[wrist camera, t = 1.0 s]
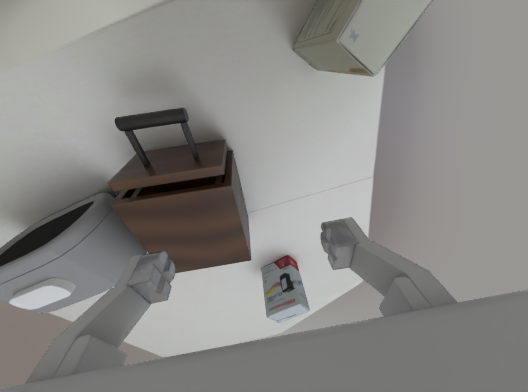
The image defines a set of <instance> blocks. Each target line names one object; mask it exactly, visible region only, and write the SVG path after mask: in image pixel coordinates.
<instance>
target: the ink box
mask: <svg viewBox="0 0 528 392" xmlns="http://www.w3.org/2000/svg"><path fill="white" fill-rule="evenodd" d="M261 270H262V279H263V288H264V297H265V306H266V315H267V317H268V318H270V319H272V320H274V321H276V322H278V323H280V322H283V321H286V320H288V319H291V318H294V317H296V316H299V315H302V314H304V313H307V312H308V311H309V310H310V309H309V305H308V302H307V298H306V294H305V291H304V287H303V284H302V280H301V276H300V273H299V269H298V266H297V263H296V262H295V261H294V260H293V259H292V258H291V257H289V256H286V257H283V258H281V259H279V260H277V261H275V262H273V263H271V264H269V265H267V266H265V267H263V268H261Z"/></svg>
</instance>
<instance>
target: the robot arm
mask: <svg viewBox="0 0 528 392" xmlns="http://www.w3.org/2000/svg"><path fill="white" fill-rule="evenodd" d="M321 229H322V231H323V232H322V233H321V244H322V247H323V249H324V251H325V252H326V253H328V260H329V262H330V264H331V267H332V269H333V270H336V269H343V268H349V267H350V269H351V270H353V271H354V272H355V273H356V274H358V275H359V276H360V277H361V278H362V279H364V280H365V281H366V282H367V283H369V284H370V285H371V286H372V287H374V288H375V289H376V290H377V291H379V292H380V293H381V294H382V295H383V296H385V297H384V299H383V301H382V302H381V304H380V307H379V309H380V311H381V312H382V314H383V316H384V317H379V318H373V319H368V320H363V321H357V322H352V323H347V324H341V325H336V326H330V327H325V328H320V329H315V330H309V331H304V332H298V333H293V334H288V335H283V336H278V337H272V338H266V339H261V340H256V341H250V342H245V343H240V344H234V345H229V346H224V347H218V348H213V349H208V350H202V351H197V352H192V353H186V354H181V355H176V356H170V357H165V358H160V359H154V360H149V361H144V362H138V363H133V364H128V365H123V364H124V362H125V359H126V356H127V355H126V352H124V351H122V350H120V349H118V347H119V346H120V344H121V343H122V342H123V340H124V339H125V338H126V336H127V335H128V334H129V333H130V331H131V330H132V329H133V327H134V326H135V325H136V323H137V322H138V321H139V319H140V318H141V317H142V315H143V314H144V313H145V311H146V310H147V309H148V307H149V306H150V304H152V303H156V302H161V301H166V300H168V297H169V294H170V290H171V285H170V282H171V281H172V280H173V279H174V276H175V265H174V262H173V261H172V260H170V259H168V254H167V253H166V252H165V251H162V252H155V253H148V254H143V255H136V256H133V257H132V258H130V260H129V262H128V264H127V266H126V268H125V269H124V271H123V273H122V275H121V277H120V279H119V281H118V282H117V284H116V286H115V288H111V289H110V290H109V291H108V292H107V293H106V294H105V295H103V296H102V297H101V298H100V299H99V300H98V301H97V302H96V303H94V304H93V305H92V306H91V307H90V308H89V309H88V310H87V311H85V312H84V313H83V314H82V315H81V316H80V317H79V318H78V319H77V320H75V321H74V322H73V323H72V324H71V325H70V326H69V327H68V328H66V330H64V331H63V332H62V333H61V334H60V335H59V336H57V337H56V338H55V339H54V341H53V342H52V343H51V345H50V346H49V348H48V350H47V351H46V353H45V354H44V356H43V357H42V359H41V361H40V362H39V363H38V365H37V366H36V368H35V369H34V371H33V373H32V374H31V376H30V377H29V379H28V380H27V382H26V383H25V384H21V385H16V386H10V387H5V388H0V392H528V290H523V291H517V292H512V293H507V294H501V295H496V296H491V297H485V298H480V299H474V300H469V301H464V302H457V301H456V300H455V299H454V298H453V297H452V296H451V295H450V293H449V292H448V291H447V290H446V289H445V288H444V287H443V286H442V285H441V284H440V282H439V281H438V280H437V279H436V278H435V277H434V276H433V275H432V274H431V272H430V271H428V270H426V269H424V268H423V267H421V266H419V265H417V264H415V263H413V262H411V261H410V260H408V259H406V258H404V257H402V256H400V255H398V254H396V253H395V252H392V251H391V250H389V249H387V248H385V247H383V246H381V245H379V244H378V243H376V242H374V241H371V242H370V241H369V239H368V238H367V236H366V235H365V234H364V232H363V231H362V230H361V228H360V227H359V226H358V224H357V223H356V222H355V220H354V219H353V218H351V217H350V218H345V219H339V220H334V221H328V222H323V223H322V224H321Z"/></svg>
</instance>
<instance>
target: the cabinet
mask: <svg viewBox="0 0 528 392" xmlns="http://www.w3.org/2000/svg"><path fill="white" fill-rule="evenodd" d="M136 189H137V188H135V189H129V190H122V191H121V192H120V193H119V195H118V196H117V197H116V198H115V199H114V200H113V202H112V203H111V204H110V206H111V207H112V208H113V210H114V211H115V212H116V213H117V215H118V216H119V217H120V218H121V220H122V221H123V222H124V223H125V224H126V226H127V227H128V228H129V229H130V231H131V232H132V233H133V234H134V236H135V237H136V238H137V239H138V241H139V242H140V243H141V244H142V245H143V247H144V248H145V249H146V250H147V252H148V253H155V252H162V251H165V252H166V253H167V254H168V259H170V260H172V261H173V262H174V265H175V273H179V272H185V271H191V270H197V269H203V268H209V267H215V266H221V265H227V264H232V263H238V262H244V261H250V260H251V249H250V235H249V221H248V215H247V210H246V206H245V202H244V197H243V193H242V188H241V184H240V180H239V175H238V171H237V166H236V162H235V158H234V153H233V151H227V154H226V170H225V181H224V183H219V184H213V185H207V186H201V187H194V188H188V189H182V190H175V191H169V192H163V193H156V194H150V195H144V196H137V197H131V196H132V195H133V193H134V192H135V191H136ZM130 197H131V198H130Z"/></svg>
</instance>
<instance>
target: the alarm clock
mask: <svg viewBox="0 0 528 392" xmlns="http://www.w3.org/2000/svg"><path fill="white" fill-rule="evenodd" d="M113 200H114V198H113V197H112V196H111V195H110V194H108V193H98V194H96V195H93V196H91V197H89V198H87V199H84V200H82V201H80V202H78V203H76V204H74V205H72V206H70V207H68V208H66V209H64V210H62V211H60V212H58V213H56V214H54V215H52V216H50V217H47V218H46V219H44V220H42V221H40V222H38V223H36V224H34V225H32V226H31V227H29V228H28V229H26V230H25V231H23V232H21V233H20V234H19V235H17V236H16V237H14V238H13V239H12V240H10V241H9V242H8V243H6V244H5V245H4V246H2V247H1V248H0V300H1V301H4V302H8V303H10V304H12V305H14V306H17V307H20V308H24V309H30V310H33V311H36V312H40V313H47V312H51V311H55V310H58V309H61V308H63V307H66V306H69V305H71V304H74V303H77V302H79V301H82V300H84V299H87V298H90V297H92V296H95V295H98V294H100V293H102V292H104V291H106V290H108V289H110V288H112V287H114V286H116V284H117V282H118V281H119V279H120V277H121V275H122V273H123V271H124V269H125V268H126V266H127V264H128V262H129V260H130V258H132V257H133V256H136V255H143V254H146V253H147V250H146V249H145V248H144V247H143V245H142V244H141V243H140V242H139V241H138V239H137V238H136V237H135V236H134V234H133V233H132V232H131V231H130V229H129V228H128V227H127V226H126V224H125V223H124V222H123V221H122V220H121V218H120V217H119V216H118V215H117V213H116V212H115V211H114V210H113V208H112V207H111V206H110V204H111V203H112V202H113Z"/></svg>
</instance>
